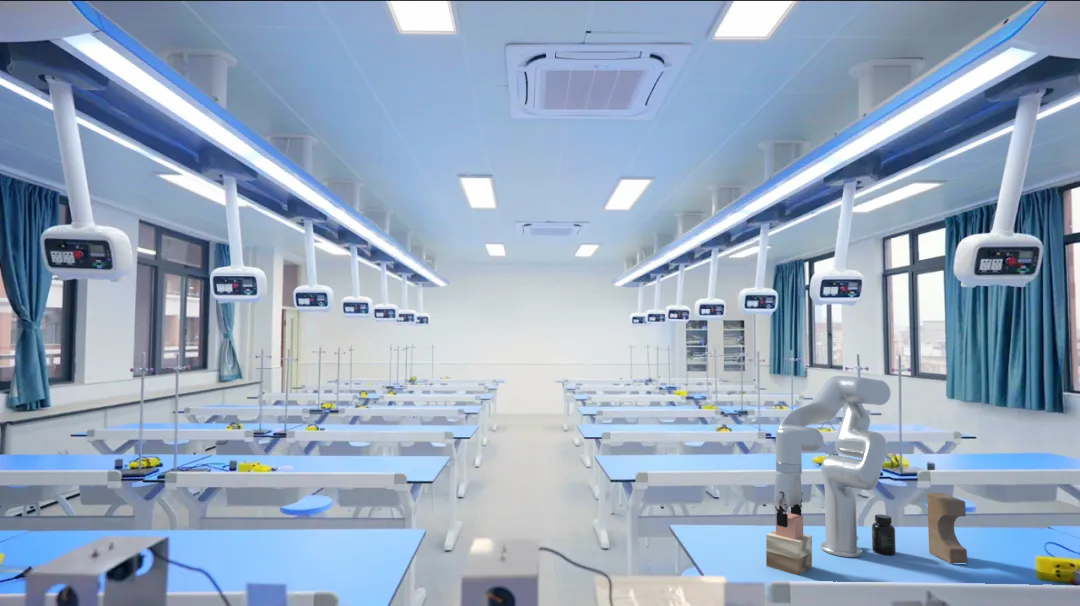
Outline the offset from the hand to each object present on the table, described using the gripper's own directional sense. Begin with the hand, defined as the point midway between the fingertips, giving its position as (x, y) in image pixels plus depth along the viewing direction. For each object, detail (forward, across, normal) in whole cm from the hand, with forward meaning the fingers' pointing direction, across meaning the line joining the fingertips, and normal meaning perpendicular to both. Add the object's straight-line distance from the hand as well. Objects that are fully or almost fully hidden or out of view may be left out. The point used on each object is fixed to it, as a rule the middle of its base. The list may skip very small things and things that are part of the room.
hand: (789, 523), depth 188 cm
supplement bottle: (+14, -38, +15) cm, 43 cm away
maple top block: (+9, 0, 0) cm, 9 cm away
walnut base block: (+14, 0, 0) cm, 14 cm away
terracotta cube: (+4, 0, 0) cm, 4 cm away
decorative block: (+14, -48, +31) cm, 59 cm away
